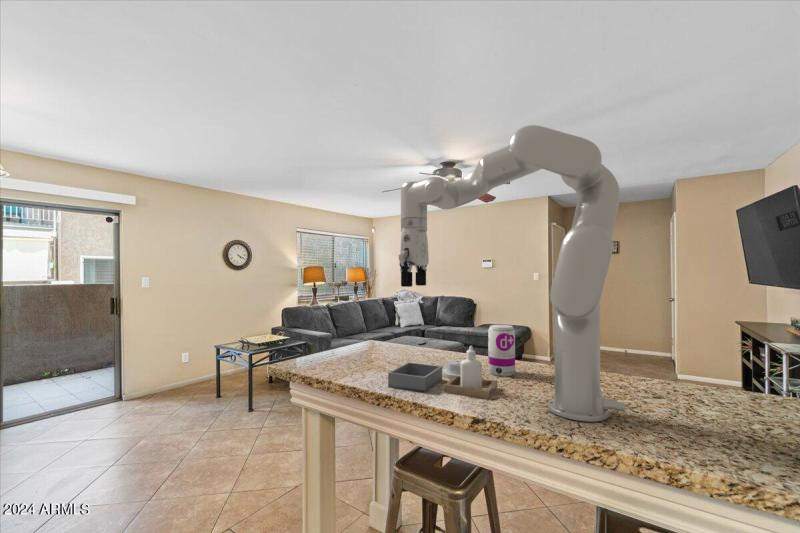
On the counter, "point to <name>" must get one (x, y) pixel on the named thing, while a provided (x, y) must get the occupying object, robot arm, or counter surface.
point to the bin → (415, 377)
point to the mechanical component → (452, 368)
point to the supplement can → (501, 350)
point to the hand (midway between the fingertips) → (414, 286)
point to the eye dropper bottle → (471, 371)
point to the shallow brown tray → (472, 392)
